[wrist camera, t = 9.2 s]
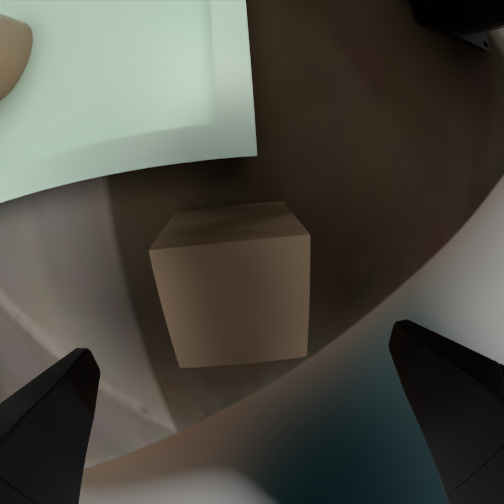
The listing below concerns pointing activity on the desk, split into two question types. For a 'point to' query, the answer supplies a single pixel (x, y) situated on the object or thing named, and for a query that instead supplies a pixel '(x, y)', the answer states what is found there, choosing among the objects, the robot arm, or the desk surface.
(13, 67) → the terracotta cylinder
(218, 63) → the tote
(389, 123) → the desk surface
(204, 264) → the walnut block
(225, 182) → the desk surface
